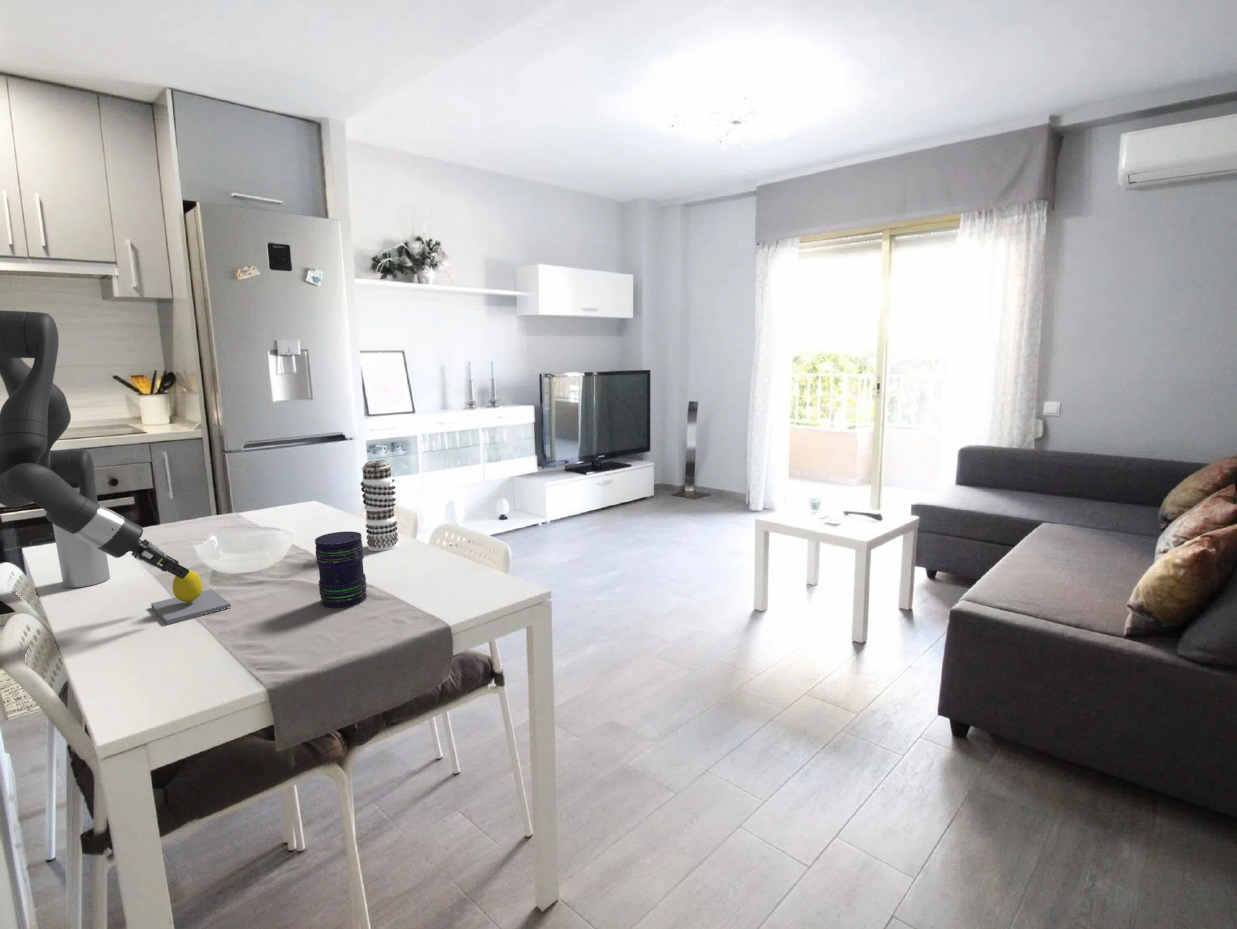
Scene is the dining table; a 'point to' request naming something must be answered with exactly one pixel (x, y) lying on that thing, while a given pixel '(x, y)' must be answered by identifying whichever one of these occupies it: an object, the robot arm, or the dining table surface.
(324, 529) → the dining table surface
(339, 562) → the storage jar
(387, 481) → the decorative candle
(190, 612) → the mat
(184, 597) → the lemon
